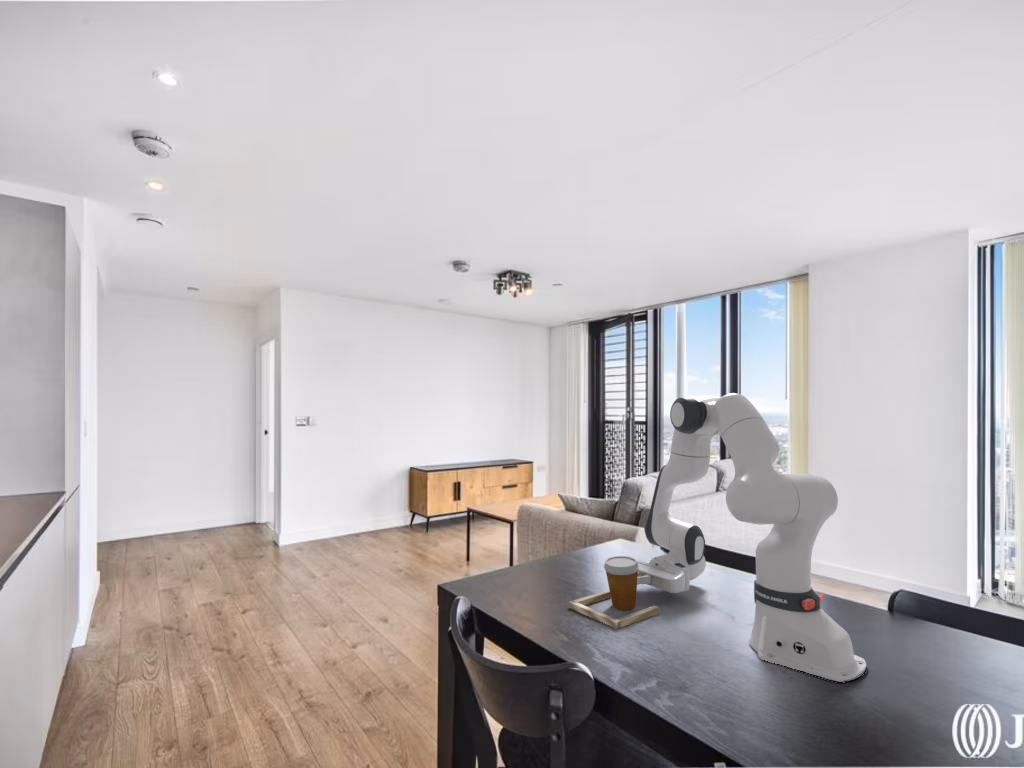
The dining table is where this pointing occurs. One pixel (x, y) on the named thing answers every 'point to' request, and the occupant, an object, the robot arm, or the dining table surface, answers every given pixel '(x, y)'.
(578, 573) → the dining table surface
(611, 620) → the cup bay
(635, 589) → the disposable coffee cup
